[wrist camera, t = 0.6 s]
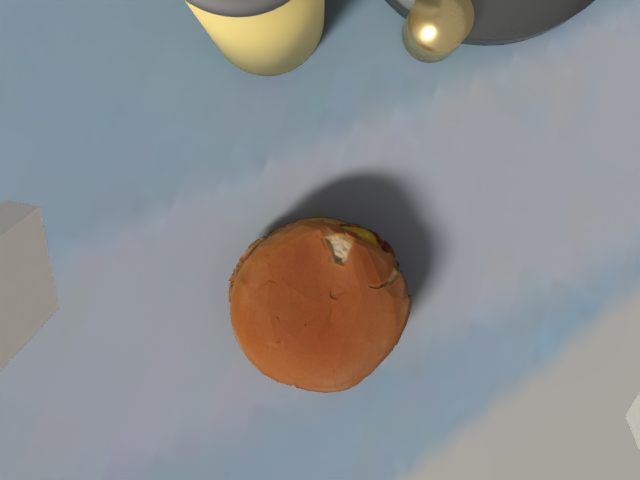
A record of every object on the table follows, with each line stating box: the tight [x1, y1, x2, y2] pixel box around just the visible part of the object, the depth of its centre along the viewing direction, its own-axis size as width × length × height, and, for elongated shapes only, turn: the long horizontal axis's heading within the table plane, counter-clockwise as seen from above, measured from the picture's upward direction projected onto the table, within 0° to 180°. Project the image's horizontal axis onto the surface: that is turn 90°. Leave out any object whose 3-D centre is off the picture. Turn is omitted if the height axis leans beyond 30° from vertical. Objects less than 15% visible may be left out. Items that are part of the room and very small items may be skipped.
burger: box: [229, 217, 412, 393], centre depth 30 cm, size 10×9×5 cm
